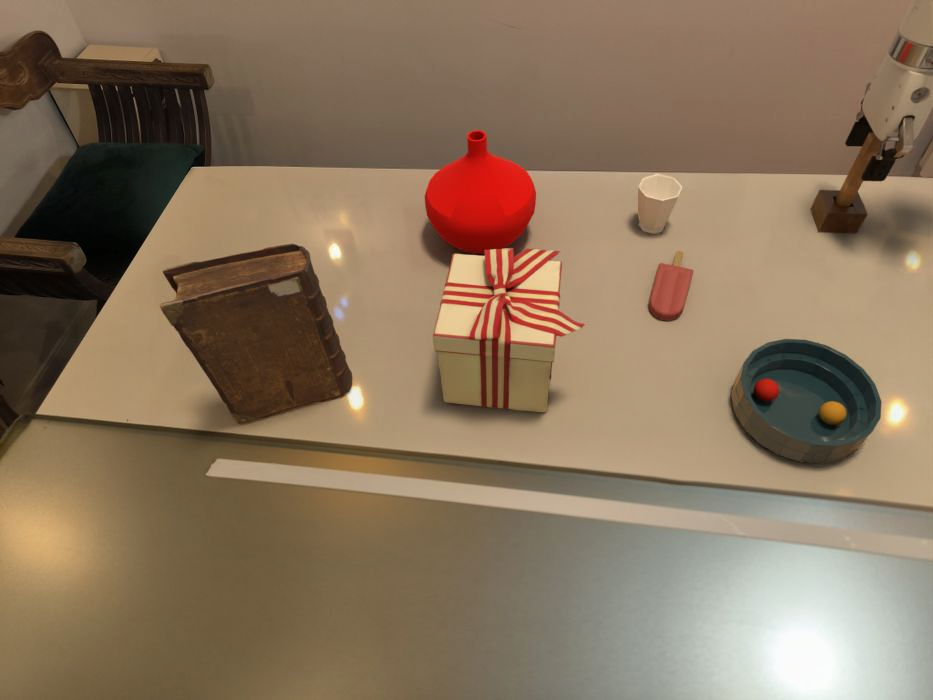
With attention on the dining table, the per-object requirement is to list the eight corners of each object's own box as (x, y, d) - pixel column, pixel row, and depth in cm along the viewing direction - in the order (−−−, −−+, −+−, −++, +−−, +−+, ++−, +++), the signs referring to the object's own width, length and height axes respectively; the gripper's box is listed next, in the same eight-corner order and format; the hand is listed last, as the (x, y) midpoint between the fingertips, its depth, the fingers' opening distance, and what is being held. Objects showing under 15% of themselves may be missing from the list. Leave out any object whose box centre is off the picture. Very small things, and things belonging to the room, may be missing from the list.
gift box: (578, 415, 82) (590, 333, 68) (442, 412, 83) (428, 332, 70) (572, 320, 92) (582, 233, 79) (452, 319, 94) (441, 233, 80)
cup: (632, 238, 103) (639, 200, 96) (628, 201, 109) (635, 162, 102) (674, 239, 102) (685, 200, 96) (668, 201, 108) (678, 162, 102)
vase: (433, 202, 112) (421, 105, 97) (533, 199, 111) (536, 101, 96) (425, 271, 101) (410, 174, 86) (536, 270, 99) (540, 170, 84)
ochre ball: (837, 410, 79) (847, 397, 77) (843, 430, 77) (853, 417, 75) (812, 408, 79) (822, 396, 77) (818, 428, 78) (827, 415, 75)
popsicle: (698, 251, 98) (682, 317, 89) (695, 258, 99) (680, 324, 90) (664, 244, 99) (646, 309, 91) (662, 251, 100) (644, 316, 92)
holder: (847, 209, 104) (857, 190, 101) (857, 233, 100) (868, 213, 97) (810, 208, 105) (819, 189, 101) (818, 232, 101) (828, 212, 98)
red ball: (772, 387, 82) (780, 374, 80) (776, 406, 80) (784, 393, 78) (749, 386, 82) (756, 373, 80) (753, 405, 80) (760, 392, 78)
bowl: (844, 364, 84) (860, 342, 80) (879, 470, 74) (899, 450, 70) (722, 358, 86) (732, 336, 82) (740, 460, 76) (753, 440, 72)
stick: (837, 217, 103) (882, 132, 90) (840, 224, 102) (885, 139, 89) (826, 217, 103) (869, 132, 90) (828, 224, 102) (872, 139, 89)
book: (353, 367, 89) (308, 238, 70) (356, 407, 85) (308, 281, 65) (239, 387, 88) (161, 261, 69) (236, 428, 84) (151, 306, 64)
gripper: (981, 82, 74) (908, 198, 88) (930, 18, 85) (872, 130, 98) (914, 82, 75) (852, 197, 89) (873, 18, 85) (823, 130, 99)
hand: (863, 161), depth 93 cm, fingers open, 8 cm apart
